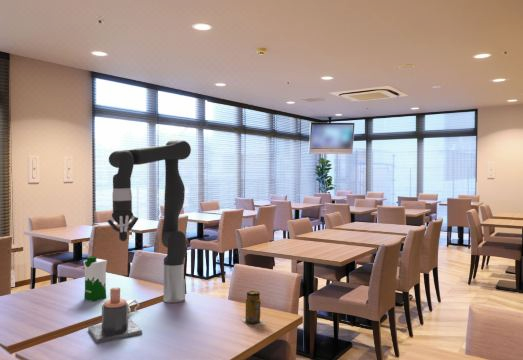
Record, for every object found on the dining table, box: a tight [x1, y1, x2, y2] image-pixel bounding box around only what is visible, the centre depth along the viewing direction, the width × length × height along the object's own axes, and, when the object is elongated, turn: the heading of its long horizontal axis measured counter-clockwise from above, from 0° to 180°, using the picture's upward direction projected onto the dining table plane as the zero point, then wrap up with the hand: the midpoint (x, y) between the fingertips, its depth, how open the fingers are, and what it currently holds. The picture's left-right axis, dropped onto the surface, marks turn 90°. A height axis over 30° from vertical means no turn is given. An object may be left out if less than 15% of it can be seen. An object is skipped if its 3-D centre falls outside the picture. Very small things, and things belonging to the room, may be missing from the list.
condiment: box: [240, 290, 267, 327], centre depth 172 cm, size 7×8×12 cm
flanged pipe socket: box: [87, 302, 143, 344], centre depth 159 cm, size 16×14×10 cm
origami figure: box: [126, 299, 140, 317], centre depth 180 cm, size 12×8×5 cm
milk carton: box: [82, 255, 108, 302], centre depth 200 cm, size 9×9×20 cm
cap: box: [103, 287, 127, 308], centre depth 159 cm, size 8×8×8 cm
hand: (123, 240), depth 175 cm, fingers closed
